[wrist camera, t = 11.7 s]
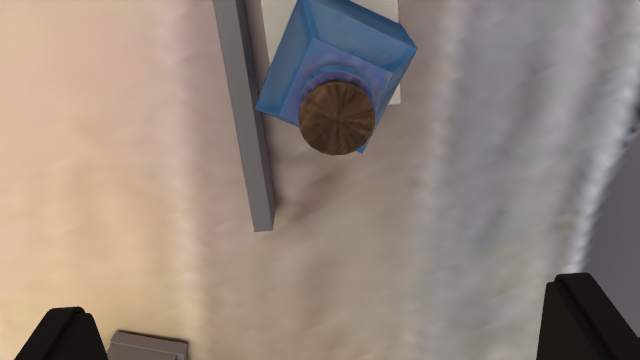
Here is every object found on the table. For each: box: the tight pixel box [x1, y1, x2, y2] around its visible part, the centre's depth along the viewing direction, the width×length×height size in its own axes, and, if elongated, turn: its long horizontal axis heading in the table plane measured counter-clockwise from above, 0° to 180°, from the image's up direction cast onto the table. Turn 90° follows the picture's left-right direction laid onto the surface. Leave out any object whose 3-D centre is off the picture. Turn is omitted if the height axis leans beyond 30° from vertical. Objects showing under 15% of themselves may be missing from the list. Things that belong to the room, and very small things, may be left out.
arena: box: [213, 0, 401, 232], centre depth 32 cm, size 17×15×3 cm
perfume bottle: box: [255, 0, 417, 155], centre depth 27 cm, size 6×6×12 cm
